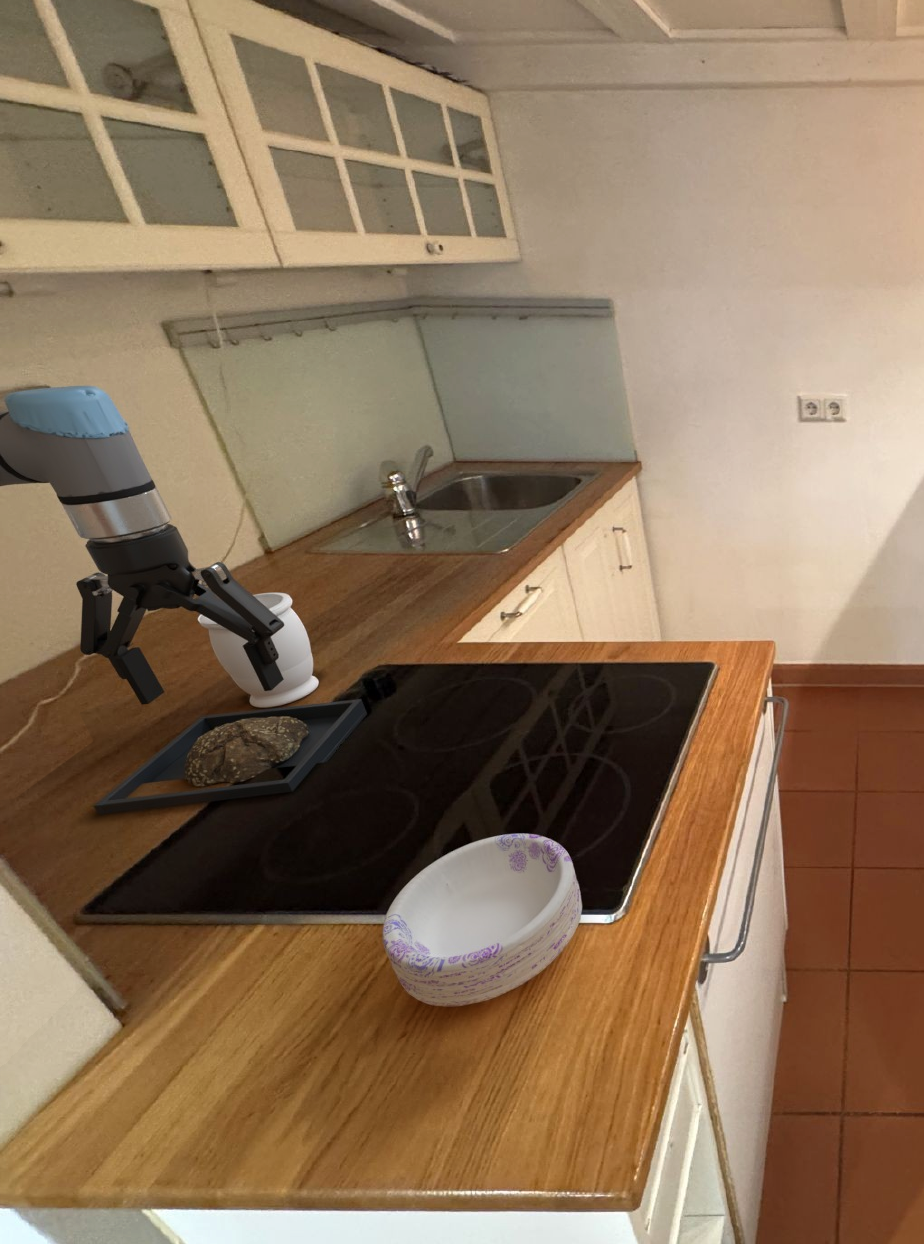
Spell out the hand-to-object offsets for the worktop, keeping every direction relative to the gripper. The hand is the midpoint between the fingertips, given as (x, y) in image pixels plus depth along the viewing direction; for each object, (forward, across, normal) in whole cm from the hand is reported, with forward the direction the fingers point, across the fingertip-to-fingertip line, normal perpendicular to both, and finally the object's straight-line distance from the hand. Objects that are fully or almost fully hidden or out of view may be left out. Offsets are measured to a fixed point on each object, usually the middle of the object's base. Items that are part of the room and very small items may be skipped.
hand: (214, 692), depth 87 cm
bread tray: (+11, 0, 0) cm, 11 cm away
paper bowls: (+12, -42, +37) cm, 57 cm away
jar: (+11, +5, -18) cm, 22 cm away
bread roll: (+11, 0, 0) cm, 11 cm away
